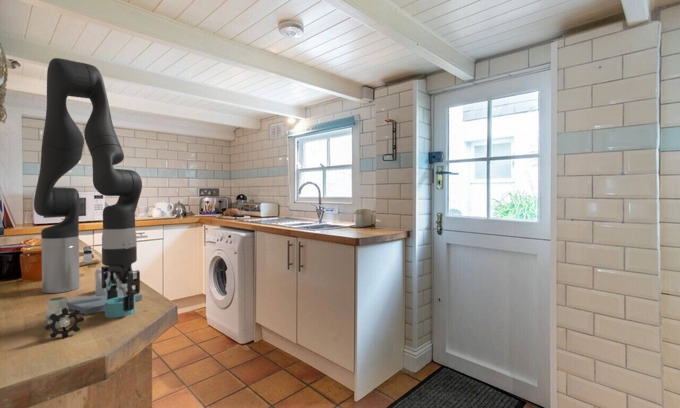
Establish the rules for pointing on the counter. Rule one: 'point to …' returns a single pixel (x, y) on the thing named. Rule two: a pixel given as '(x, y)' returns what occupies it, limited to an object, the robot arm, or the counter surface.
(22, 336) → the counter surface
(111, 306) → the collar
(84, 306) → the post stand
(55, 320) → the valve
